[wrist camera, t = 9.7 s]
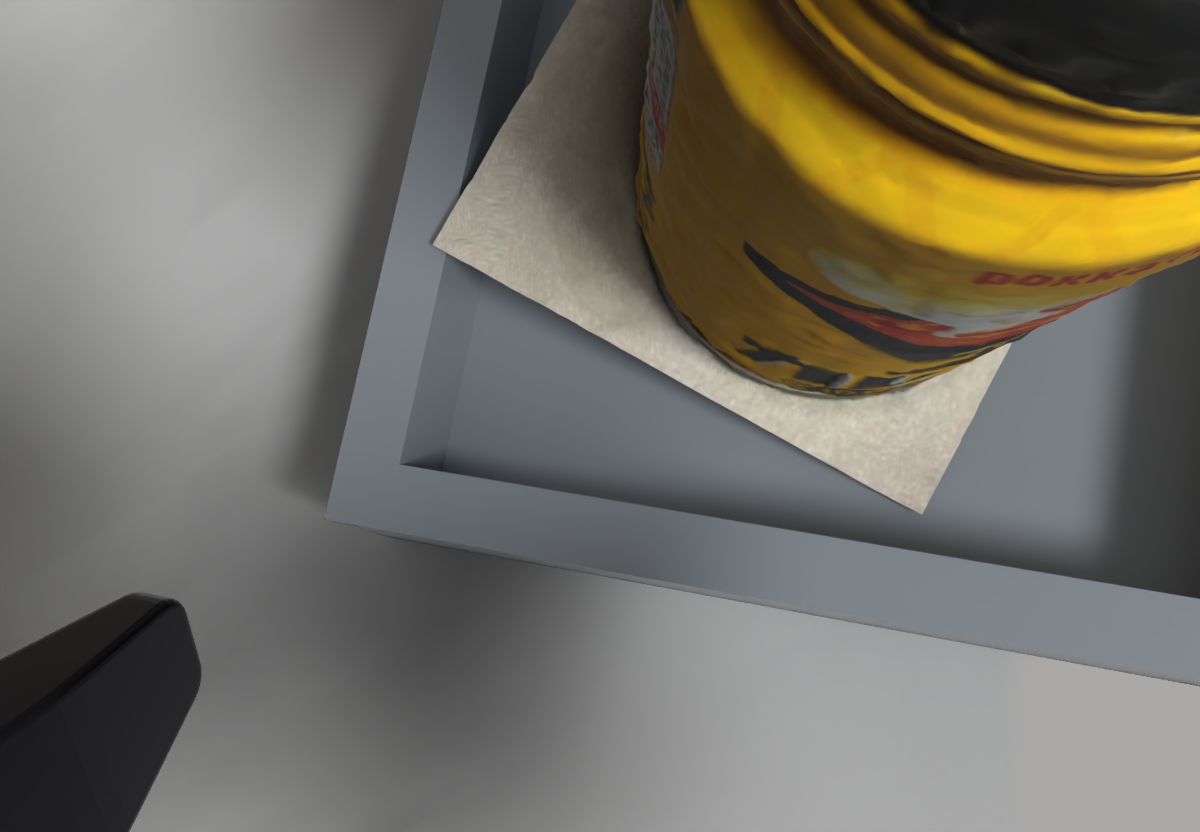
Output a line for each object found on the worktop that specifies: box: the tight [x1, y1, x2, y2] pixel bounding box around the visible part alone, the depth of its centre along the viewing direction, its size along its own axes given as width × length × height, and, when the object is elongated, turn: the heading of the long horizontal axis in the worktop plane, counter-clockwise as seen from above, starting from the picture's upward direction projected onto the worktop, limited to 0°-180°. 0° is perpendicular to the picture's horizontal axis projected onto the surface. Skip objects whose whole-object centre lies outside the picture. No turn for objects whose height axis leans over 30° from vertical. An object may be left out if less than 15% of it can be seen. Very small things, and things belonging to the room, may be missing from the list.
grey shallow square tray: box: [324, 0, 1200, 686], centre depth 18 cm, size 14×14×3 cm
